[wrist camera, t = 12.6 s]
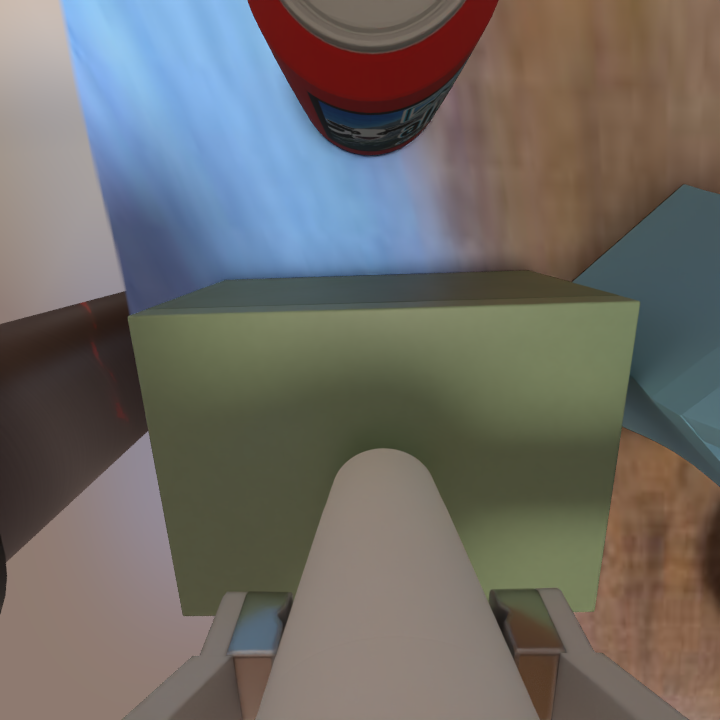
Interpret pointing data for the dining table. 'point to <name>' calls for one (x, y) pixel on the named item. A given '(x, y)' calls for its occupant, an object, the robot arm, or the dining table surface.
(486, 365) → the sage green box
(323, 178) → the dining table surface
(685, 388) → the vase
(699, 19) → the dining table surface
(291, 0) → the beverage can
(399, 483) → the cup
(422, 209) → the dining table surface
